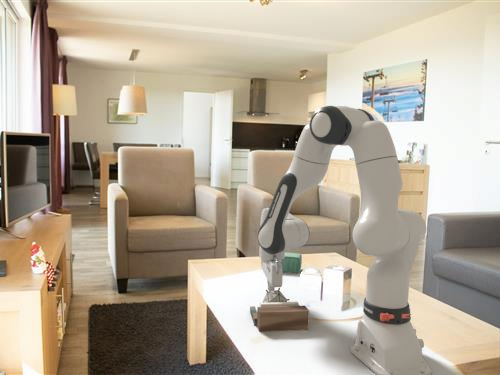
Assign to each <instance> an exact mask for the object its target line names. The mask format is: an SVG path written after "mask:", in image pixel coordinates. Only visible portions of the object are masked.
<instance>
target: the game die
mask: <svg viewBox="0 0 500 375" xmlns="http://www.w3.org/2000/svg"><path fill="white" fill-rule="evenodd" d="M277 288H278V289H274V291H269V290H268V289H266V290H265V292H266V294H265V296H264V299H263V300H262V303H266V302H288V301H290V299H289V298H286V296H285V295H284V294H283V293H282V292H281V287H277Z"/></svg>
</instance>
